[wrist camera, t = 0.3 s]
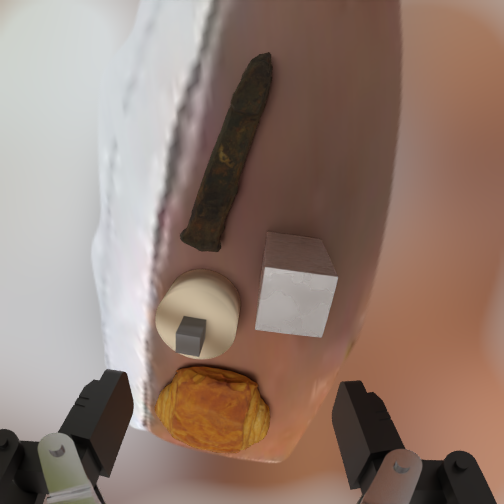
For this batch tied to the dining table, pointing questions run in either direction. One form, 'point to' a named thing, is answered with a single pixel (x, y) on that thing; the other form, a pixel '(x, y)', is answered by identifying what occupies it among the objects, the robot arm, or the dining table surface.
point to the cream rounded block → (199, 314)
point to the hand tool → (229, 157)
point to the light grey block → (295, 285)
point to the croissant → (213, 410)
